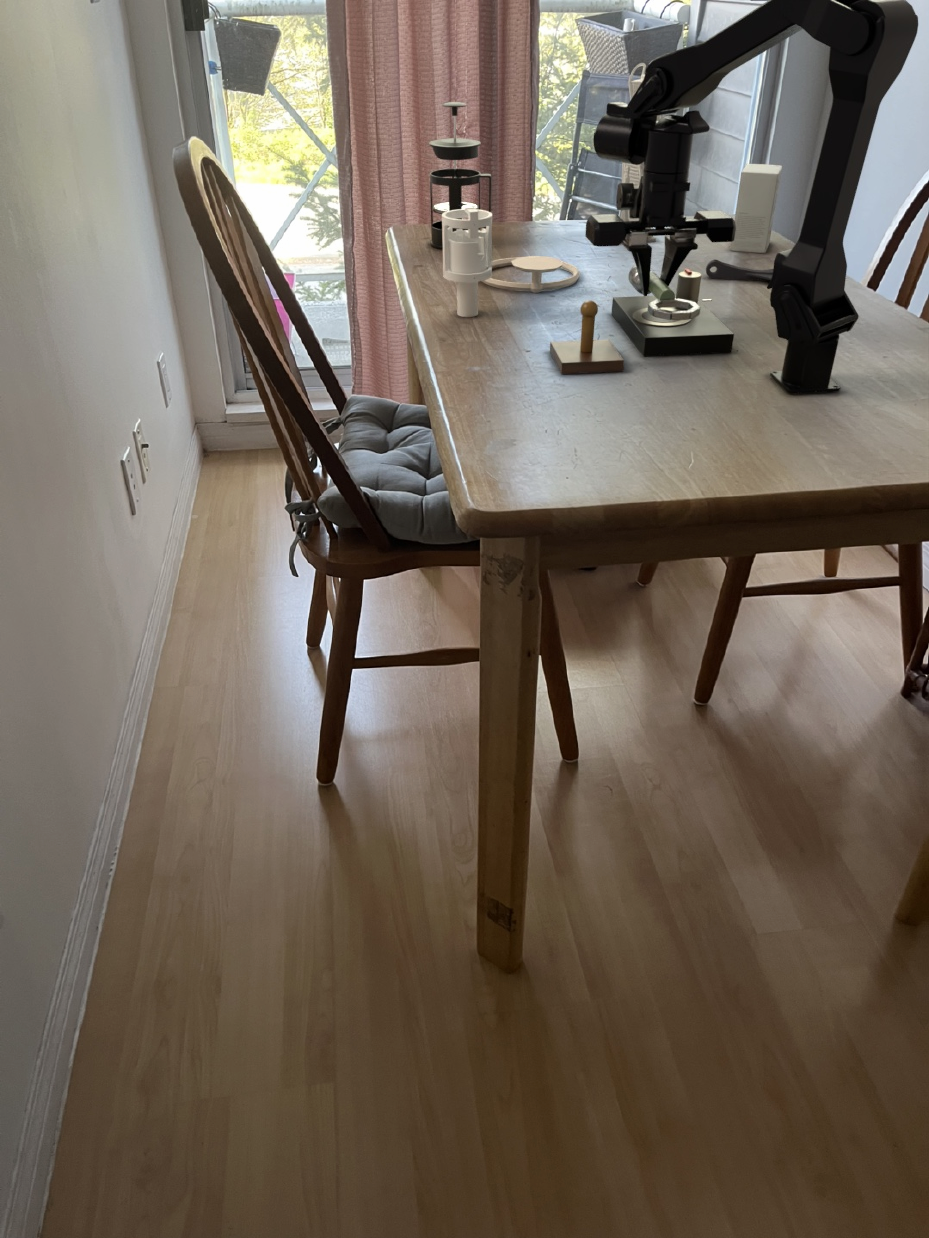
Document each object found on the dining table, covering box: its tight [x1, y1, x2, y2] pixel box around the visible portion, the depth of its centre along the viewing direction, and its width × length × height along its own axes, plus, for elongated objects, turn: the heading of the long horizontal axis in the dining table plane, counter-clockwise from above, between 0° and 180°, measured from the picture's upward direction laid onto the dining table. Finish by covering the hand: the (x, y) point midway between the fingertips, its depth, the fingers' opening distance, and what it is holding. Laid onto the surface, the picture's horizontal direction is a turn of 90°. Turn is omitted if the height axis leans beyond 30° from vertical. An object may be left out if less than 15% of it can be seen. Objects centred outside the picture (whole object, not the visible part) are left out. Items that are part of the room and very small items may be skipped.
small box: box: [730, 163, 783, 254], centre depth 167 cm, size 8×6×13 cm
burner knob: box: [675, 268, 702, 303], centre depth 135 cm, size 3×3×4 cm
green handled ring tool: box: [627, 264, 701, 320], centre depth 127 cm, size 21×6×4 cm, turn 6°
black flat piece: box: [705, 259, 773, 282], centre depth 153 cm, size 14×15×3 cm
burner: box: [633, 307, 691, 327], centre depth 130 cm, size 8×8×1 cm
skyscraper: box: [619, 62, 664, 243], centre depth 169 cm, size 8×8×28 cm
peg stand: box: [549, 299, 625, 375], centre depth 121 cm, size 8×8×8 cm
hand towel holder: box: [481, 255, 581, 294], centre depth 153 cm, size 17×4×20 cm
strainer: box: [441, 207, 493, 318], centre depth 136 cm, size 7×7×15 cm
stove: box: [611, 294, 735, 357], centre depth 132 cm, size 18×14×3 cm
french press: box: [428, 101, 492, 251], centre depth 167 cm, size 12×9×23 cm
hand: (653, 295), depth 129 cm, fingers closed on green handled ring tool, 2 cm apart
